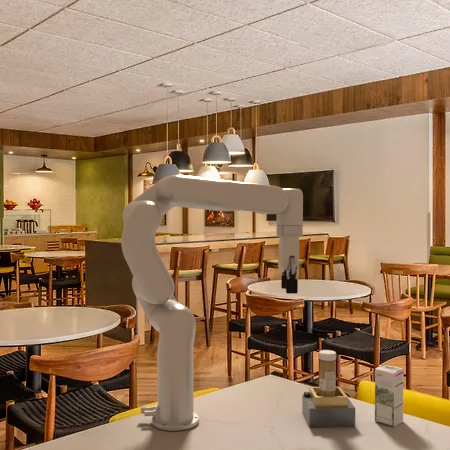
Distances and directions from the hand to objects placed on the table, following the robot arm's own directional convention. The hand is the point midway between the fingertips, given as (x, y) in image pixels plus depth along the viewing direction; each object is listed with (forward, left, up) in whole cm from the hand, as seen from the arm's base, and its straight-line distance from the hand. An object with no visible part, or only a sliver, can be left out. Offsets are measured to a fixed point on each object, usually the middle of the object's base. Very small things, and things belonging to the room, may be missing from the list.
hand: (289, 290), depth 158 cm
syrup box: (+25, -13, -34) cm, 44 cm away
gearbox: (+9, -11, -33) cm, 36 cm away
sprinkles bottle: (+9, -11, -28) cm, 32 cm away
